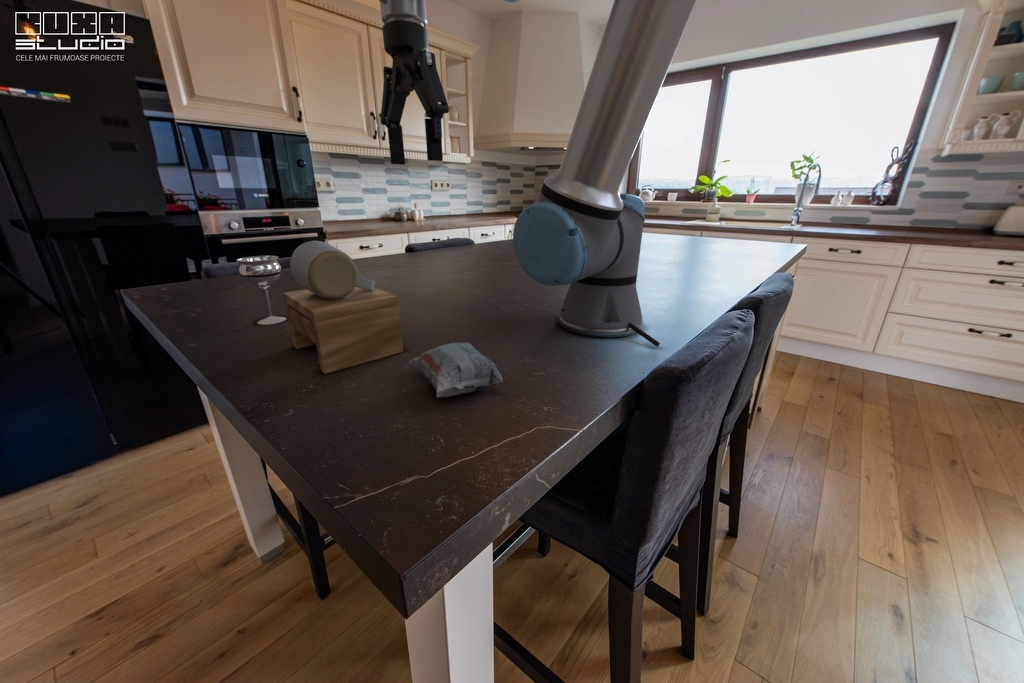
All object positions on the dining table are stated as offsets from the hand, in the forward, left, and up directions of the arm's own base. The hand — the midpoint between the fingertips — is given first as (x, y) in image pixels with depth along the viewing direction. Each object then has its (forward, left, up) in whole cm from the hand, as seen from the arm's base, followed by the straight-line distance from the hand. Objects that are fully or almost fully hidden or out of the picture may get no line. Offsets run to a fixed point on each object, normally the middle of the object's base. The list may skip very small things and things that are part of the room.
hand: (415, 162), depth 75 cm
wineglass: (+13, +27, -29) cm, 42 cm away
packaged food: (-34, +17, -29) cm, 48 cm away
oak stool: (-12, +22, -29) cm, 38 cm away
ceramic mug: (-12, +22, -20) cm, 32 cm away
